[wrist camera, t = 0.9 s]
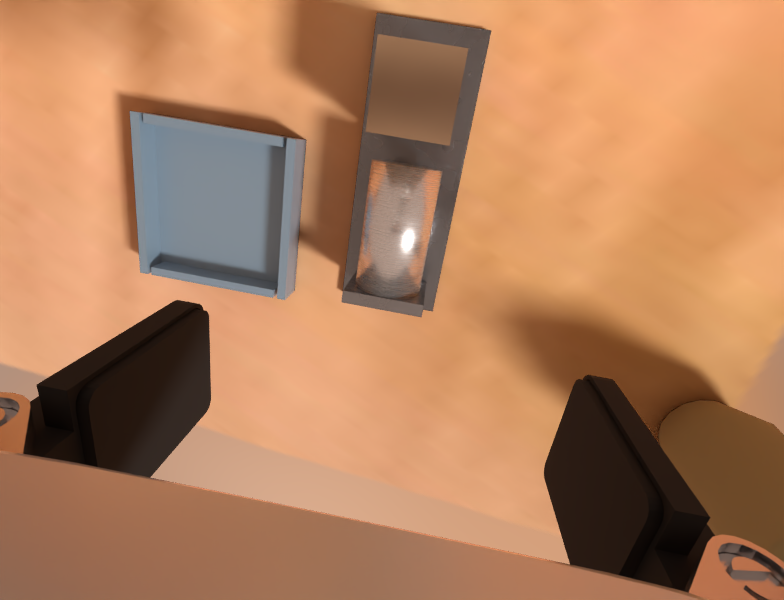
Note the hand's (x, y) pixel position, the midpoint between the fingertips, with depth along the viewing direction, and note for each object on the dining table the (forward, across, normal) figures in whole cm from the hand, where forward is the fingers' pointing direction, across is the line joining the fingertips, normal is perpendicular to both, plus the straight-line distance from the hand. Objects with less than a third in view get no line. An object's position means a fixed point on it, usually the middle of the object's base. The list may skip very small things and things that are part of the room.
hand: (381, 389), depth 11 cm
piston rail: (+21, +2, -3) cm, 21 cm away
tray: (+21, +14, +1) cm, 26 cm away
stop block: (+21, +1, -8) cm, 22 cm away
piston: (+21, +2, 0) cm, 21 cm away
